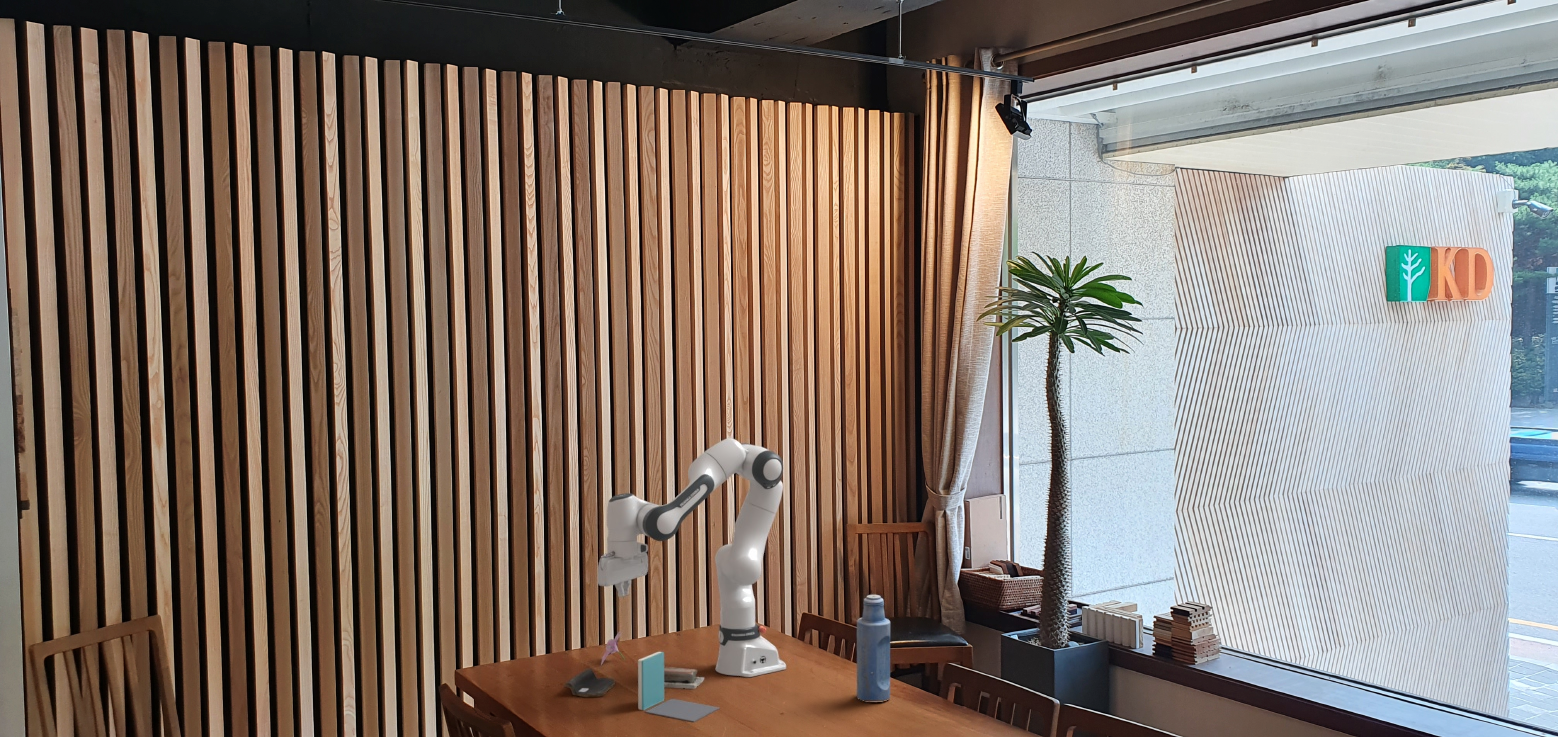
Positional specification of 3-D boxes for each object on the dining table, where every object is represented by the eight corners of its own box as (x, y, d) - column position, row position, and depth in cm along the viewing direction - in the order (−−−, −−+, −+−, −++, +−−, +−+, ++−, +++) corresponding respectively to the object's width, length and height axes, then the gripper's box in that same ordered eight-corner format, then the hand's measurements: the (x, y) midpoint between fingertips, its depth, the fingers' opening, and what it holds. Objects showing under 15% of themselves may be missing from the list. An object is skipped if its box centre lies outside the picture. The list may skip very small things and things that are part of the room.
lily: (611, 657, 366) (597, 634, 364) (641, 646, 363) (627, 622, 361) (600, 678, 355) (586, 654, 353) (631, 666, 352) (617, 642, 350)
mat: (645, 712, 306) (645, 711, 306) (671, 699, 318) (671, 698, 318) (694, 721, 298) (694, 720, 298) (719, 708, 310) (719, 707, 310)
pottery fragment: (599, 699, 319) (599, 685, 319) (561, 696, 322) (561, 681, 322) (617, 684, 333) (618, 670, 333) (581, 681, 336) (581, 667, 336)
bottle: (871, 691, 325) (871, 590, 325) (897, 698, 318) (897, 595, 318) (850, 698, 318) (849, 595, 318) (875, 705, 311) (875, 600, 311)
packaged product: (638, 670, 332) (649, 661, 341) (638, 686, 332) (649, 677, 341) (695, 674, 328) (704, 665, 337) (695, 690, 328) (704, 681, 337)
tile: (638, 709, 309) (638, 659, 309) (659, 699, 318) (659, 651, 318) (643, 710, 309) (643, 660, 308) (664, 700, 317) (664, 652, 317)
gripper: (608, 555, 312) (610, 603, 312) (651, 544, 330) (652, 590, 330) (591, 554, 315) (592, 602, 315) (634, 543, 333) (635, 588, 333)
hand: (623, 595), depth 323 cm, fingers closed
